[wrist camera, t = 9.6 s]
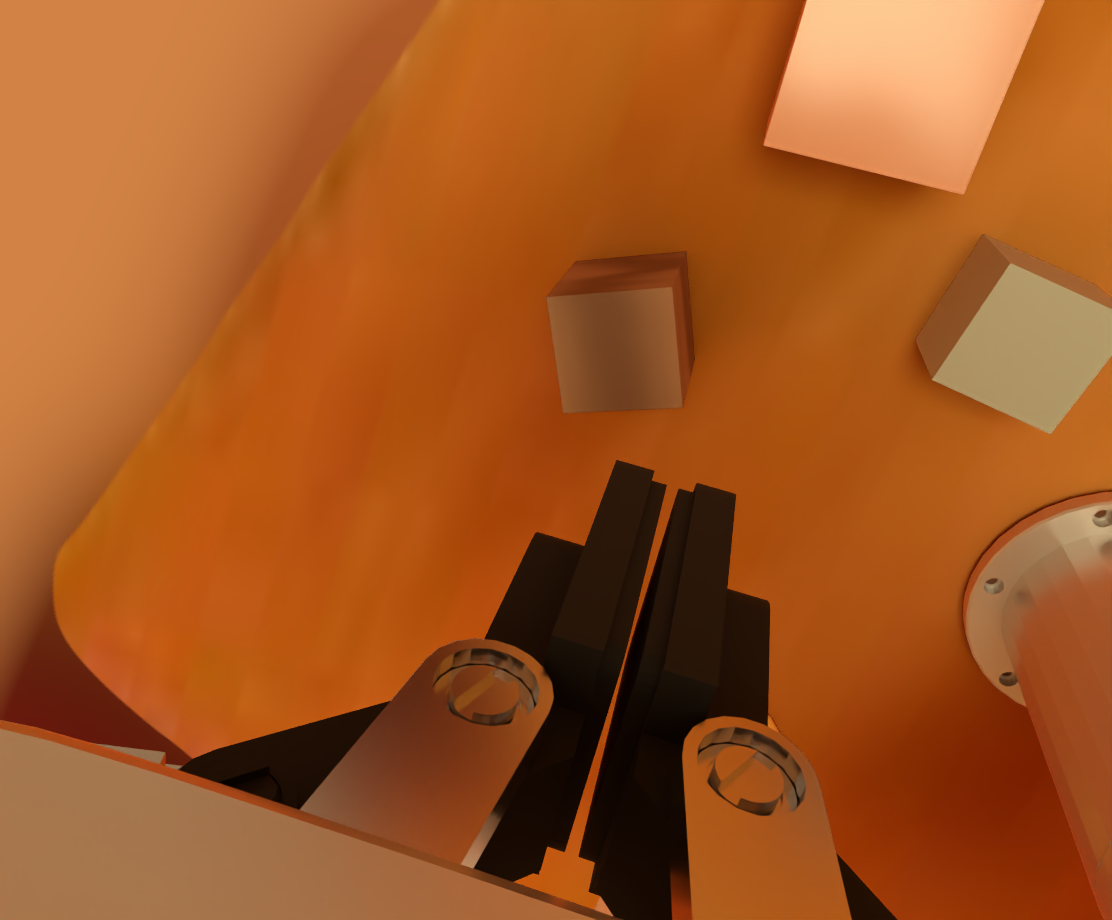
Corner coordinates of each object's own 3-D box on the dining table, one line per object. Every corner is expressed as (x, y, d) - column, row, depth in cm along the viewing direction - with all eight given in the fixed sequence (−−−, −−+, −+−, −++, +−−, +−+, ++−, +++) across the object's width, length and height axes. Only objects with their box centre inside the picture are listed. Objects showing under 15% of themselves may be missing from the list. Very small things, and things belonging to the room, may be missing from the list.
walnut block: (686, 251, 39) (672, 287, 34) (694, 358, 41) (682, 407, 36) (576, 260, 41) (546, 297, 35) (589, 364, 43) (563, 413, 37)
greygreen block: (1095, 284, 36) (1138, 321, 32) (1020, 387, 39) (1050, 434, 34) (983, 233, 36) (1010, 263, 32) (914, 339, 39) (932, 379, 34)
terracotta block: (1014, -26, 32) (1059, -35, 27) (936, 168, 36) (963, 194, 30) (824, -68, 33) (832, -84, 28) (766, 127, 36) (763, 145, 31)
